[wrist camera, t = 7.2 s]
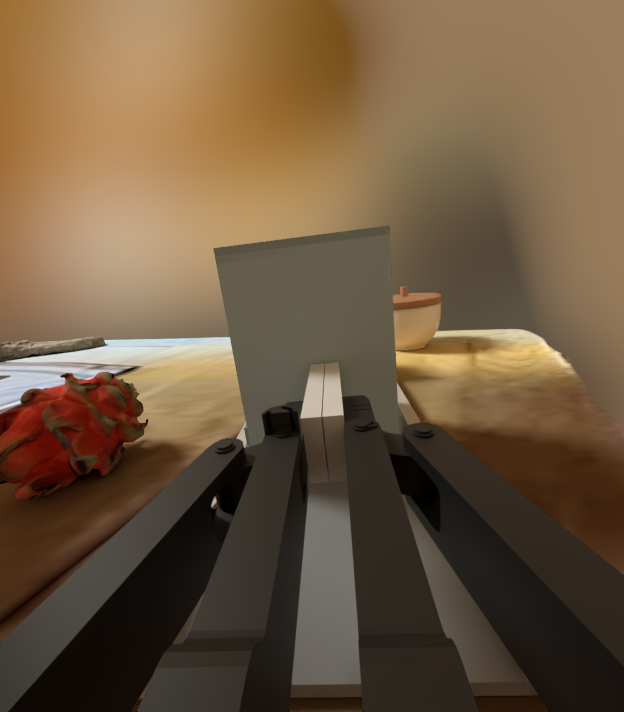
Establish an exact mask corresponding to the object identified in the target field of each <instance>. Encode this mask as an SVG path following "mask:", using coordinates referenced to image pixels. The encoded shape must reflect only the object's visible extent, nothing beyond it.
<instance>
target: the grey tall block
mask: <svg viewBox="0 0 624 712" xmlns="http://www.w3.org/2000/svg"><path fill="white" fill-rule="evenodd" d="M214 253H215V259H216V264H217V270H218V274H219V280H220V285H221V291H222V296H223V302H224V307H225V312H226V317H227V323H228V328H229V334H230V339H231V345H232V350H233V355H234V361H235V366H236V371H237V377H238V382H239V387H240V393H241V398H242V403H243V409H244V414H245V419H246V425H245V426H244V432H245V437H246V442H247V445H250V446H254V445H257V444H260V443H262V441H263V439H264V436H265V432H264V426H263V420H262V413H263V412H264V411H266V410H267V409H269V408H272V407H275V406H281V405H285V404H286V403H287V402H296V401H304V397H305V392H306V387H307V382H308V377H309V372H310V367H311V365H314V364H324V365H325V363H335V362H339V371H340V381H341V391H342V397H345V396H357V395H364V396H365V397H367V398H368V399H369V401H370V404H371V407H372V411H373V414H374V417H375V421H376V422H378V423H379V425H380V427H381V430H383V431H385V432H388V433H393V434H402V432H403V426H402V414H401V412H400V410H399V408H398V394H397V373H396V352H395V332H394V311H393V291H392V269H391V248H390V227H389V226H383V227H375V228H367V229H359V230H352V231H345V232H336V233H328V234H321V235H314V236H305V237H297V238H290V239H282V240H274V241H266V242H259V243H252V244H244V245H235V246H229V247H220V248H214ZM307 477H308V475H307Z"/></svg>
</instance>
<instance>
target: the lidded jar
mask: <svg viewBox="0 0 624 712" xmlns="http://www.w3.org/2000/svg"><path fill="white" fill-rule="evenodd" d="M400 291H401V294H399V295H393V311H394V332H395V350H398V351H409V350H417V349H421V348H424V347H425V346H426V343H427V342H429V341H430V340H431V339H432V337H433V336H434V335H435V333H436V332H437V329H438V326H439V322H440V316H441V301H442V296H441V295H440V294H437V293H412V294H408V292H407V286H406V287H400Z"/></svg>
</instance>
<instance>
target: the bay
mask: <svg viewBox="0 0 624 712" xmlns="http://www.w3.org/2000/svg"><path fill="white" fill-rule="evenodd" d="M397 394H398V408H399V410H400V412H401V414H402V426H403V428H405V427H406V426H407V425H410V424H414V423H421V421H420V420H419V418H418V416H417V415H416V413H415V411H414V410H413V408H412V407H411V405H410V403H409V402H408V400H407V398H406V397H405V395H404V393H403V392H402V390H401V388H400V387H399V385H398V383H397ZM245 425H246V422H245V424H244V426H245ZM244 426H243V428H242V430H241V431H240V433H239V435H238V437H237V439H240V440H241V441H243V445H244V448H246V447H250V445H247V442H246V437H245V432H244ZM401 435H402V434H401ZM307 485H308V492H309V493H308V504H307V515H306V526H305V538H304V549H303V560H302V572H301V583H300V594H299V606H298V617H297V628H296V639H295V651H294V662H293V673H292V685H291V696H290V698H318V697H362V690H361V676H360V662H359V646H358V639H359V636H358V621H357V607H356V594H355V580H354V566H353V552H352V539H351V525H350V511H349V497H348V483H347V481H342V482H330V479H329V482H326V483H309V480H308V477H307ZM401 495H402V494H401ZM402 498H403V501H404V505H405V508H406V511H407V514H408V518H409V521H410V524H411V527H412V531H413V534H414V537H415V540H416V544H417V547H418V550H419V553H420V557H421V560H422V563H423V566H424V570H425V573H426V576H427V579H428V582H429V586H430V589H431V592H432V595H433V599H434V602H435V605H436V608H437V612H438V615H439V618H440V621H441V625H442V627H443V630H444V633H445V635H446V637H447V638H452V640H453V641H454V643H455V645H456V647H457V649H458V652H459V655H460V657H461V660H462V663H463V665H464V668H465V671H466V674H467V677H468V680H469V683H470V686H471V689H472V692H473V695H474V696H526V695H538V694H537V692H536V691H535V689H534V688H533V686H532V685H531V683H530V682H529V680H528V679H527V677H526V676H525V674H524V673H523V672H522V670H521V669H520V667H519V666H518V664H517V663H516V661H515V660H514V658H513V657H512V655H511V654H510V653H509V651H508V650H507V648H506V647H505V645H504V644H503V642H502V641H501V639H500V638H499V636H498V635H497V633H496V632H495V631H494V629H493V628H492V626H491V625H490V623H489V622H488V620H487V619H486V617H485V616H484V614H483V613H482V611H481V610H480V609H479V607H478V606H477V604H476V603H475V601H474V600H473V598H472V597H471V595H470V594H469V592H468V591H467V590H466V588H465V587H464V585H463V584H462V582H461V581H460V579H459V578H458V576H457V575H456V573H455V572H454V570H453V569H452V568H451V566H450V565H449V563H448V562H447V560H446V559H445V557H444V556H443V554H442V553H441V551H440V550H439V548H438V547H437V546H436V544H435V543H434V541H433V540H432V538H431V537H430V535H429V534H428V532H427V531H426V529H425V528H424V526H423V525H422V524H421V522H420V521H419V519H418V518H417V516H416V515H415V513H414V512H413V510H412V509H411V507H410V506H409V505H408V503H407V501H406V498H405V495H402ZM216 502H217V501H216V497H215V498H214V500H213V502H212V506H211V507H213V506H214V504H215V503H216ZM203 595H204V594H203ZM203 595H202V597H201V598H200V600H199V602H198V603H197V605H196V606H195V608H194V610H193V611H192V613H191V615H190V616H189V618H188V619H187V621H186V623H185V624H184V626H183V628H182V629H181V631H180V632H179V634H178V636H177V637H176V639H175V641H174V642H173V644H181V643H183V642H184V640H185V639H186V638H187V636H188V633H189V631H190V629H191V626H192V624H193V621H194V619H195V616H196V613H197V611H198V608H199V605H200V603H201V600H202V598H203ZM150 681H151V679H150ZM150 681H149V683H150ZM149 683H148V684H147V686H146V688H145V689H144V691H143V692H142V694H141V696H140V697H139V699H143V697H144V695H145V692H146V690H147V688H148V685H149Z"/></svg>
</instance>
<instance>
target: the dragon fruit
mask: <svg viewBox="0 0 624 712" xmlns="http://www.w3.org/2000/svg"><path fill="white" fill-rule="evenodd" d="M60 377H61V378H62V377H64V378H65V380H66V382H65V384H64V385H61V386H57V387H53V388H49V389H48V388H45V389H43V390H41V389H30V390H28V391H26V392H25V393H24V394H23V395H22V397H21V403H22V404H20V405H17V406H15V407H14V408H12V409H10V410H8V411H6V412H4V413H2V414H0V484H3V483H7V482H11V483H21V482H22V484H21V485H20V486H19V487H18V488H17V490H16V491H15V493H14V495H13V498H14V499H16V500H18V501H22V500H24V499H26V498H28V499H29V500H30V501H31V500H32V499H33V498H36V497H37V496H41V495H48V494H50V493H52V492H53V491H55V490H57V489H61V488H63V487H65V486H67V485H69V484H70V483H72V482H73V481H74V480H75V479H76V478H77V477H78V476H79V475H86V474H88V473H89V472H90V471H91V470H92V469H98V470H99V472H100V474H101V475H102V476H106V475H107V474H109V473H110V471H111V469H112V468H113V467H114V466H115V465H116V464H117V462H118V461H119V460H120V458H121V455H122V454H123V452H124V451H125V449H124V447H123V442H134V441H135V440H137V439H138V438H140V437H141V436H143V434H144V428H145V427H146V426H147V424H148V419H147V420H146V423H140V422H138V420H137V417H138V416H140V415H141V413H142V412H143V404H142V403H141V402H140V401H138V400H137V399H136V397H137V396H138V395H139V393H137V392H136V389H135V388H134V386H133V383H131V384H129V383H125V382H123V379H121V380H118V379H117V378H114V374H112V373H109V372H101V373H98V374H97V375H96V376H95V377H94V378H93V379H91V380H83V379H77V378H75V377H73V374H72V373H66V374H63V375H61V376H60ZM111 459H112V462H111ZM38 487H39V488H38ZM36 488H38V489H36ZM55 492H56V491H55ZM39 494H41V495H39Z"/></svg>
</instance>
